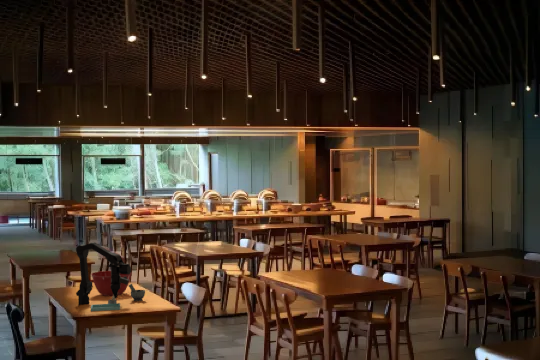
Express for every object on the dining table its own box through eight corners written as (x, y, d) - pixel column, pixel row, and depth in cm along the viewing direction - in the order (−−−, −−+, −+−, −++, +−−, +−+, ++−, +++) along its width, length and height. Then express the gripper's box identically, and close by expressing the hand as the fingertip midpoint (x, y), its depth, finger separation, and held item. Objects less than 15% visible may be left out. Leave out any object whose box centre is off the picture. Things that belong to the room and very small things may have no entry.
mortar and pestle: (143, 299, 488) (143, 281, 488) (146, 301, 479) (146, 283, 479) (127, 300, 483) (126, 283, 483) (130, 303, 475) (130, 285, 474)
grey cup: (108, 307, 461) (108, 301, 461) (108, 305, 466) (108, 299, 466) (116, 306, 462) (116, 300, 462) (116, 305, 467) (116, 299, 467)
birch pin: (109, 305, 463) (110, 291, 463) (109, 305, 465) (110, 290, 465) (117, 305, 464) (118, 291, 464) (117, 305, 466) (118, 290, 466)
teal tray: (90, 312, 446) (90, 308, 446) (91, 308, 458) (91, 304, 458) (120, 310, 450) (120, 306, 450) (120, 307, 461) (120, 303, 461)
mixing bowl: (137, 291, 521) (136, 270, 521) (125, 298, 493) (124, 276, 492) (99, 291, 524) (99, 270, 524) (85, 298, 495) (85, 276, 495)
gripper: (128, 275, 457) (128, 299, 457) (127, 271, 475) (128, 294, 475) (110, 276, 455) (110, 300, 455) (110, 272, 473) (111, 295, 473)
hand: (115, 297), depth 465 cm, fingers closed on birch pin, 2 cm apart
